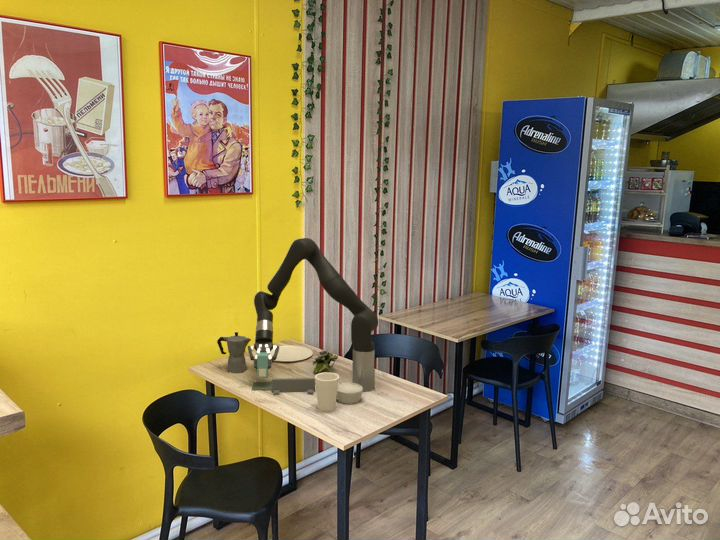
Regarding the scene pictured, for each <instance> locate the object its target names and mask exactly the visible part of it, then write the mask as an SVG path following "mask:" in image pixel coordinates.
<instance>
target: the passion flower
mask: <svg viewBox="0 0 720 540" xmlns="http://www.w3.org/2000/svg"><path fill="white" fill-rule="evenodd" d="M338 356H339V355H336V354H334V353H332V352H329V351H327V350H322V351H319V355H318V356H317V357H315V358H314V360H313V361H312V366H314V365H315V367H314V369H313V374H315V373H317V372H318V373H321V371H323V370H325V368H326V369H327V370H328V371H329V372H330V373H332V368H333V365H334V364H335V362H336V361H337V360H338V358H339V357H338ZM332 362H333V363H332ZM331 363H332V364H331ZM330 364H331V365H330Z"/></svg>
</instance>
